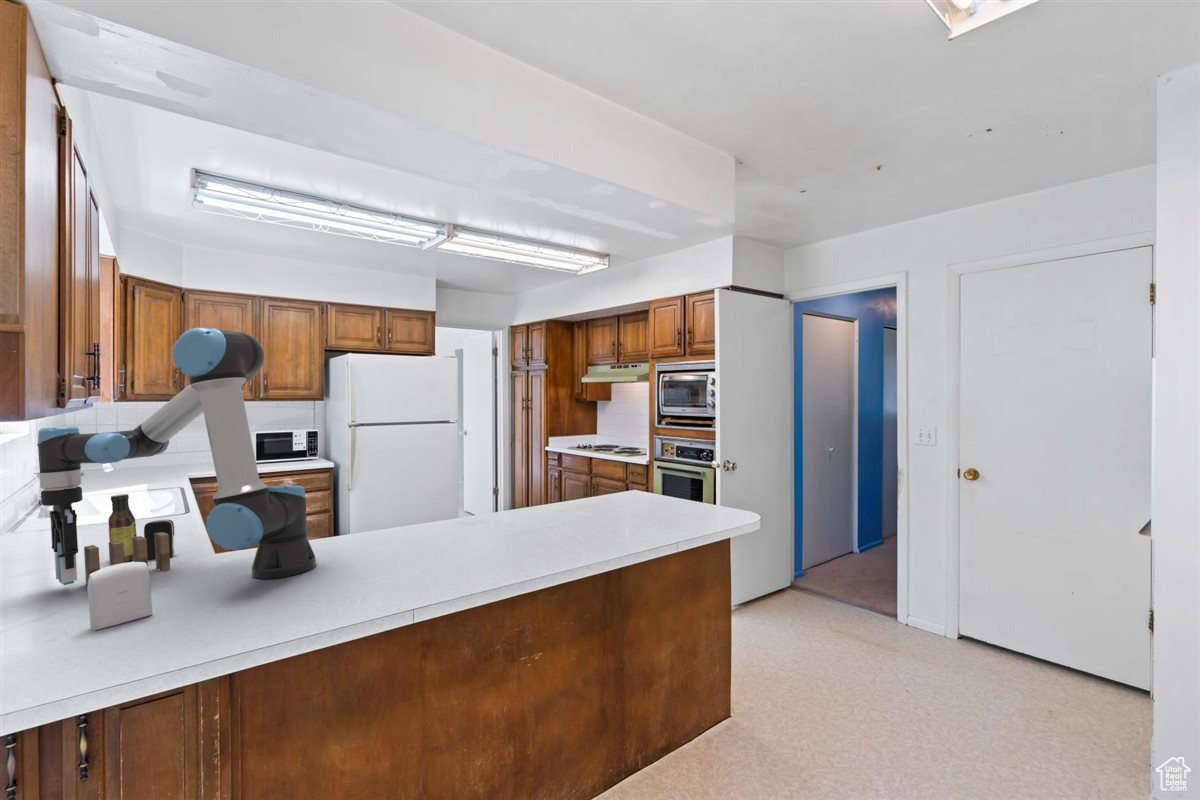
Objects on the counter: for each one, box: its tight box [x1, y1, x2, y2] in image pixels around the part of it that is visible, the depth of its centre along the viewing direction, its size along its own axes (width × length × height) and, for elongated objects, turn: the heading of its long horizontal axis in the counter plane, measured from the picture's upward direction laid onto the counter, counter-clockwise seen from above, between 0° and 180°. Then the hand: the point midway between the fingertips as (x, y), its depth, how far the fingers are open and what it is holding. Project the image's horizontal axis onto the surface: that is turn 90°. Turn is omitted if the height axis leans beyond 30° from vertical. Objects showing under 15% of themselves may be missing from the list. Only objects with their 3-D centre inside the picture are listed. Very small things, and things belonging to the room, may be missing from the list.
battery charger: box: [143, 519, 176, 561], centre depth 170 cm, size 7×4×11 cm, turn 113°
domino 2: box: [83, 544, 101, 586], centre depth 146 cm, size 5×2×10 cm, turn 55°
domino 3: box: [108, 541, 125, 566], centre depth 150 cm, size 5×2×10 cm, turn 55°
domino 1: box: [57, 542, 75, 586], centre depth 142 cm, size 5×2×10 cm, turn 55°
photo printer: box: [86, 561, 153, 631], centre depth 120 cm, size 10×4×12 cm, turn 140°
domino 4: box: [132, 535, 149, 568], centre depth 154 cm, size 5×2×10 cm, turn 55°
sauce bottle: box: [107, 493, 138, 563], centre depth 169 cm, size 7×6×20 cm
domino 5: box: [154, 532, 171, 572], centre depth 158 cm, size 5×2×10 cm, turn 55°
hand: (66, 579), depth 142 cm, fingers closed on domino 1, 5 cm apart
